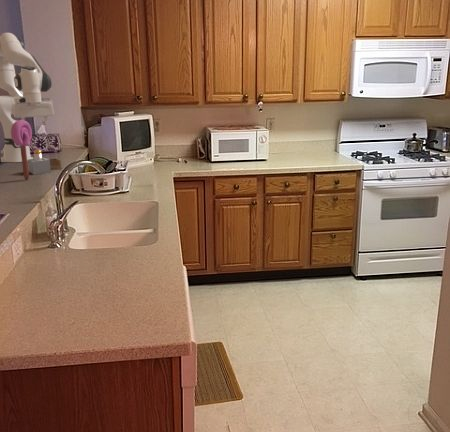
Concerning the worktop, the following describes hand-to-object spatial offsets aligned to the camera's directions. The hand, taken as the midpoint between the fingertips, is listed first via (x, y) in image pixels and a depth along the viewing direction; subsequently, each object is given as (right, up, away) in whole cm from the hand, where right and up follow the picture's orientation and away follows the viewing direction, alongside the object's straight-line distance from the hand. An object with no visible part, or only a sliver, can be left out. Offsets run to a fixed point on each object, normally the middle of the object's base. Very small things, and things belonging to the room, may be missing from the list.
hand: (35, 125), depth 262 cm
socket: (0, -24, +7) cm, 25 cm away
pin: (0, -24, +6) cm, 25 cm away
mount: (+4, -21, +16) cm, 27 cm away
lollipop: (0, -30, -12) cm, 32 cm away
